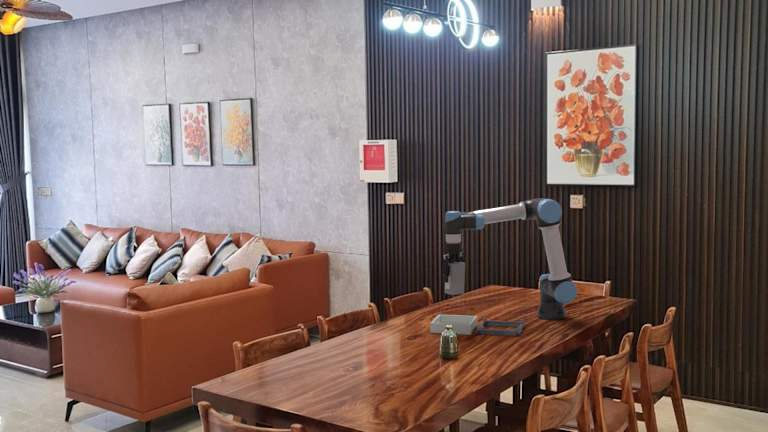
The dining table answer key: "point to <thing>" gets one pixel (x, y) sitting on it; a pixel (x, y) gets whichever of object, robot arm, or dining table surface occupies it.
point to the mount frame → (486, 322)
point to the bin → (454, 324)
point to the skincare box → (456, 278)
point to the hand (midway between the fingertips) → (453, 287)
